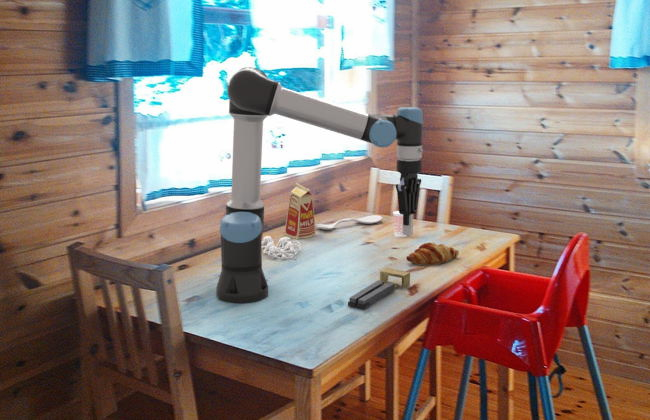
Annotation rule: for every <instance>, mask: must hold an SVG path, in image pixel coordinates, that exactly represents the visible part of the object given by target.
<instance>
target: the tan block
mask: <svg viewBox="0 0 650 420" xmlns="http://www.w3.org/2000/svg"><path fill="white" fill-rule="evenodd" d="M389 276H391V277H395V278H401V288H402V289H405V288H406V287H408V286H410V285H411V284H410V283H411V271H406V270H405V271H404V270H399V269H394V268H389V267H385V268H383V269H381V270H379V280H380V281H384V283H386V282H389Z"/></svg>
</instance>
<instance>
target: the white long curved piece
mask: <svg viewBox="0 0 650 420" xmlns="http://www.w3.org/2000/svg"><path fill="white" fill-rule="evenodd" d="M382 219H383V217H382V216H381V215H375V214H373V215H368V216H367V215H366V216H363V217H358V218H352V217H350V218H349V217H347V218H343V219H339V220H337V221H335V222H333V223H331V224H321V223H320V224H319V223H316V222H315V228H316V229H320V230H324V231H325V230H327V231H329V230H333V229H334V228H335V227H336V226H338V224H341V223H347V222H355V223H360V224H364V225H372V224H376V223H378V222H380V221H382Z"/></svg>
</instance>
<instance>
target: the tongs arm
mask: <svg viewBox="0 0 650 420" xmlns="http://www.w3.org/2000/svg"><path fill="white" fill-rule="evenodd" d="M384 283H385V282H384V281H380V279H378V280H377V281H374V282H373V283H371V284H370V285H368V286H367V287H365V288H363V289H362V290H359V291H358V292H356V293H355V294H353V295H352V296H350V297H349V300H348V302H347V306H349V307H353V308H357V307H356V306H357V303H358V299H360V298H362V297H363V296H365V295H367V294H369V293H370V292H372V291H374V290H376V289H378V288H379V287H381V286H383V285H384Z"/></svg>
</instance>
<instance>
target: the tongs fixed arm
mask: <svg viewBox="0 0 650 420" xmlns="http://www.w3.org/2000/svg"><path fill="white" fill-rule="evenodd" d="M397 287H398V284H397V283H396V282H393V281H386V282H384V285H383V286H381V287H379V288H378V289H376V290H374V291H372V292H370V293H369V294H367V295H365V296H363V297H362V298H360V299H358V303H357V306H356V307H355V308H358V309H363V310H365V309H366V308H369V307H370V306H371V305H372V304H374V303H376V302H377V301H379V300H381V299H383V298H384V297H386V296H387V295H389V294H391V293H393V292H395V290H396V289H397Z"/></svg>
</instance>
